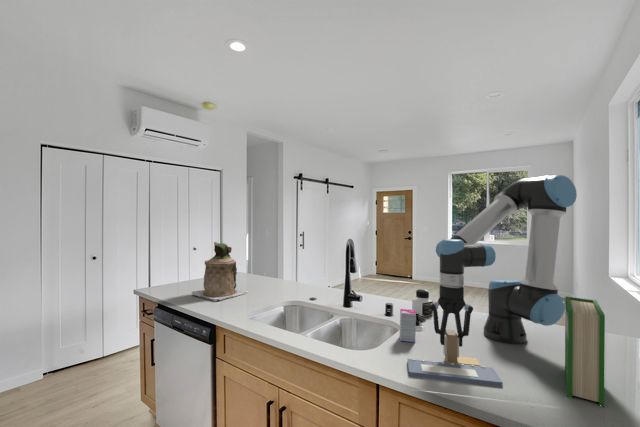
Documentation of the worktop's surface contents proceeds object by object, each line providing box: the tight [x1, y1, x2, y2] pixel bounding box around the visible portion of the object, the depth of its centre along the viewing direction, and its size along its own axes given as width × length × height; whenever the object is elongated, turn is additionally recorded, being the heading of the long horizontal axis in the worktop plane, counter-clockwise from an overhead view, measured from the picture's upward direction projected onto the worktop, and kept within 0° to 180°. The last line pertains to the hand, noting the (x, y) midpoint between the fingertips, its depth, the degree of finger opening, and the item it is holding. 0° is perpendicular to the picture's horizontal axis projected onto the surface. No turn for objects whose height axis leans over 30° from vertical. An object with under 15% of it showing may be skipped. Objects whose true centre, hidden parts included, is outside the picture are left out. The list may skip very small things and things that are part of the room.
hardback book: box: [564, 296, 606, 407], centre depth 91 cm, size 18×7×24 cm, turn 144°
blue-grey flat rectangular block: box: [407, 358, 503, 388], centre depth 98 cm, size 26×9×2 cm, turn 77°
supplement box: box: [399, 308, 417, 344], centre depth 125 cm, size 6×6×12 cm
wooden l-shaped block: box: [444, 328, 481, 366], centre depth 106 cm, size 10×5×10 cm, turn 78°
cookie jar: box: [191, 241, 249, 302], centre depth 192 cm, size 25×25×32 cm
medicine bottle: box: [411, 289, 434, 318], centre depth 157 cm, size 7×7×12 cm
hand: (451, 354), depth 106 cm, fingers closed on wooden l-shaped block, 3 cm apart
